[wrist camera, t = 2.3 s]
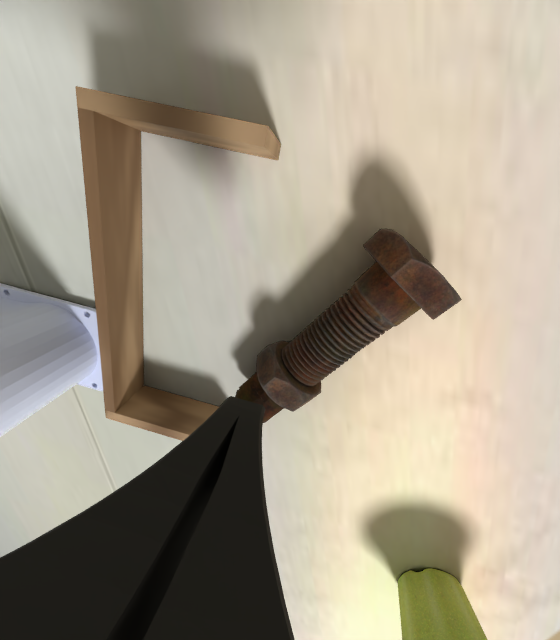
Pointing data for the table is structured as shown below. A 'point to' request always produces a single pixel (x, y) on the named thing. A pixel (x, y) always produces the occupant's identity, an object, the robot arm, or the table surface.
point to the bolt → (349, 324)
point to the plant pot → (436, 608)
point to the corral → (139, 241)
